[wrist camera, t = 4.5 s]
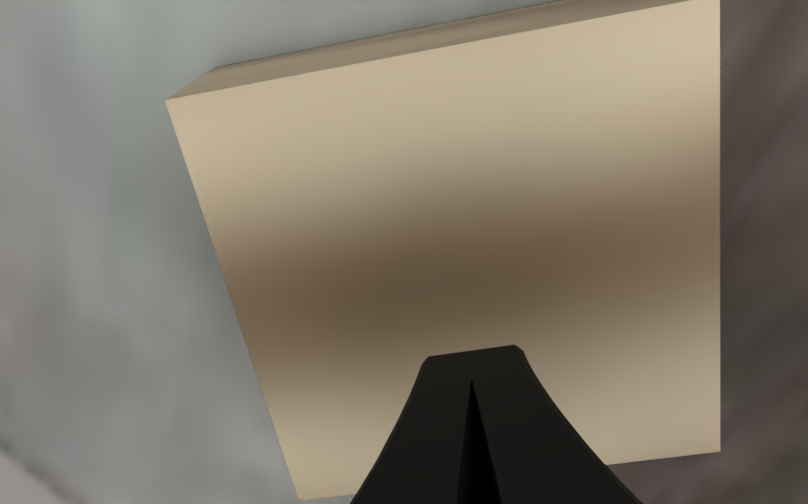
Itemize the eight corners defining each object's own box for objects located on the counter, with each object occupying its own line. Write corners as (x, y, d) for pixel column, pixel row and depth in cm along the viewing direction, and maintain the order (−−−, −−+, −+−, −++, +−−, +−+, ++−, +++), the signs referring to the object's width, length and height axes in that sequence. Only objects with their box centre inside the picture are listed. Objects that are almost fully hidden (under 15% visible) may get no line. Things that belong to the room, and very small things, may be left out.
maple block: (674, 367, 17) (720, 451, 14) (318, 414, 18) (298, 500, 15) (661, -19, 13) (719, -6, 11) (215, 67, 14) (164, 100, 12)
